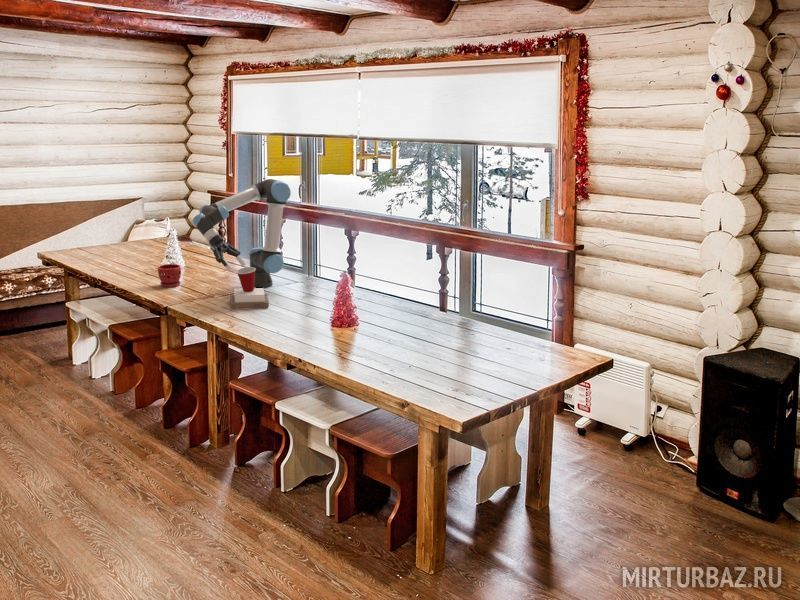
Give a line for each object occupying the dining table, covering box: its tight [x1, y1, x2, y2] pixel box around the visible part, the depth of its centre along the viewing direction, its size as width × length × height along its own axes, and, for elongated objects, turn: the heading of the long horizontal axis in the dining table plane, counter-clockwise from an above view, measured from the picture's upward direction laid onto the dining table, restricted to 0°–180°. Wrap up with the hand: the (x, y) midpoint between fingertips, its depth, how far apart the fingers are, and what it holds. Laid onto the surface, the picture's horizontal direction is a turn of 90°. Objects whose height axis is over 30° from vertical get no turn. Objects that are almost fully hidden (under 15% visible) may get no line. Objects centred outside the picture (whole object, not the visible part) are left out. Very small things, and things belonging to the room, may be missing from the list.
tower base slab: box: [230, 293, 270, 310], centre depth 444 cm, size 20×20×4 cm
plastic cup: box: [235, 266, 256, 292], centre depth 441 cm, size 11×11×12 cm
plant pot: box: [157, 263, 182, 288], centre depth 479 cm, size 13×13×12 cm
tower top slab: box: [233, 287, 266, 302], centre depth 443 cm, size 16×16×4 cm
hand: (237, 267), depth 442 cm, fingers open, 13 cm apart
